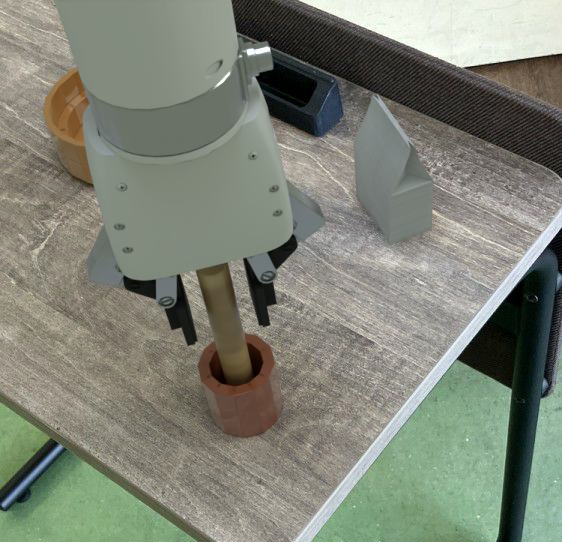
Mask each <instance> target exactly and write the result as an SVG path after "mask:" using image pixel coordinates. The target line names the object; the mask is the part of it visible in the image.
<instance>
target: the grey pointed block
mask: <svg viewBox="0 0 562 542" xmlns="http://www.w3.org/2000/svg"><path fill="white" fill-rule="evenodd" d="M361 122H362V123H361V125H360V127H359V129H358V131H357V134H356V136H355V138H354V140H353V157H354V178H355V196H356V197H357V198H358V200H359V202H360V203H361V205H362V207H363V208H364V210H365V211H366V213H367V215H368V216H369V217H371V218H372V219H373V220H374V223H375V224H376V225H377V227H378V229H379V231H380V232H381V234H382V235H383V236H384V239H385V240H386V242H387V243H388V244H389V246H392V245H395V244H398V243H400V242H403V241H406V240H409V239H412V238H414V237H417V236H420V235H422V234H425V233H427V232H430V231H432V229H433V208H434V207H433V206H434V186H435V184H434V183H435V181H434V179H433V178H432V177H431V175H430V173H429V172H428V170H427V169H426V168H425V166H424V165H423V163H422V161H421V159H420V158H419V155H418V153H417V149H416V146H415V145H414V144H413V142H412V141H411V139H410V138H409V137H408V135H407V134H406V132H405V131H404V129H403V128H402V126H401V125H400V124H399V122H398V121H397V120H396V118H395V117H394V115H393V114H392V113H391V111H390V109H389V108H388V107H387V105H386V104H385V102H383V100H382V99H381V97H380V96H379V94H378V93H376V96H375V95H374V94H371V98H370V103H369V106H368V108H367V110H366V114H365V116H364V118H363V121H361Z"/></svg>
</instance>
